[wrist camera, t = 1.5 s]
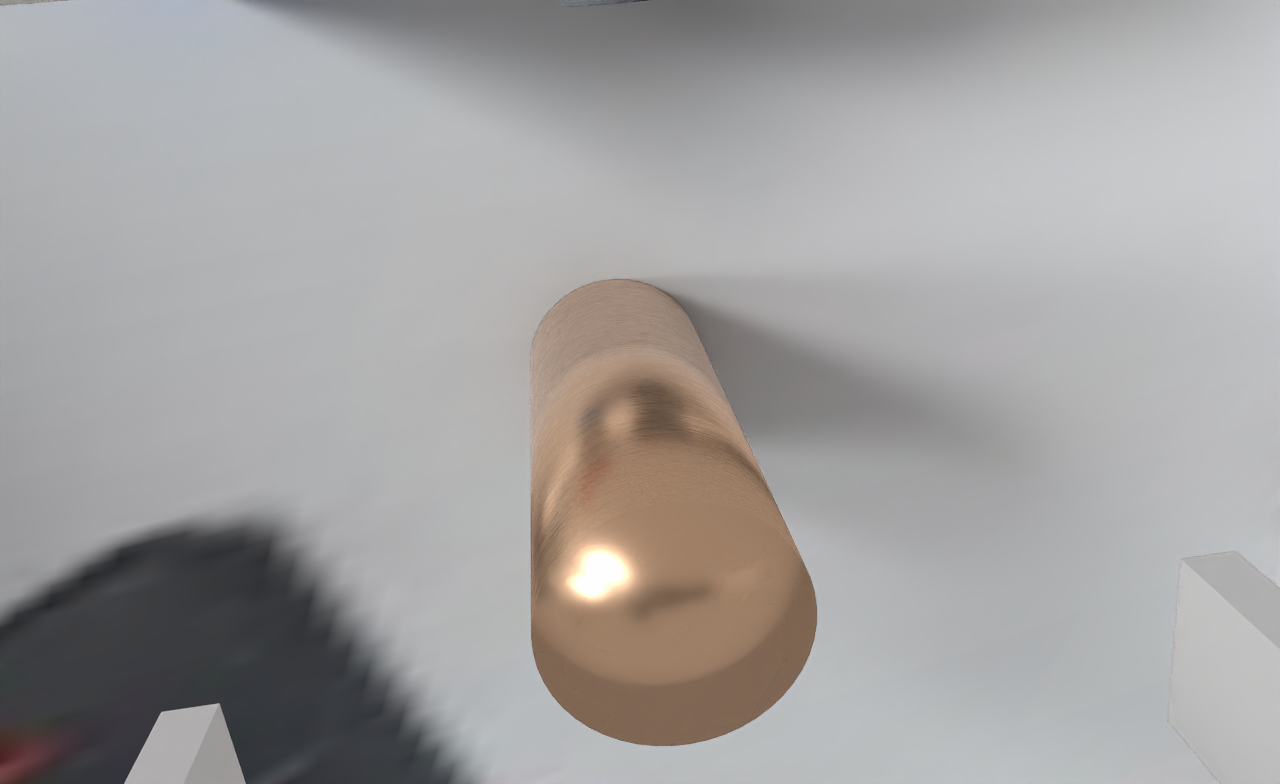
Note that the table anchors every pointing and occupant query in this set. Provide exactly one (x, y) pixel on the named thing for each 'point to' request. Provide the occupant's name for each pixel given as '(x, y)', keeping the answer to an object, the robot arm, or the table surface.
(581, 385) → the pipe stub
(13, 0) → the ink box
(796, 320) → the table surface
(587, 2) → the valve body
